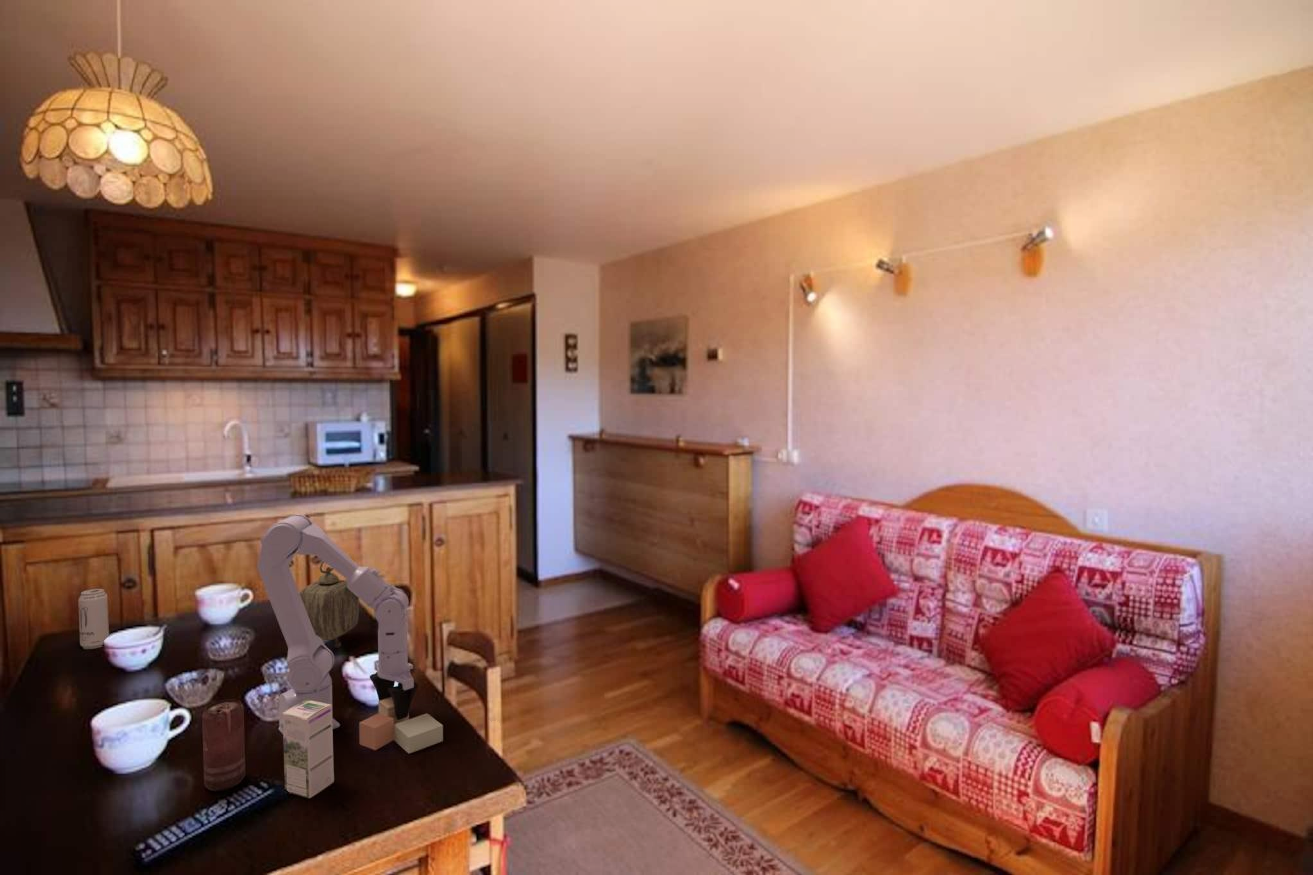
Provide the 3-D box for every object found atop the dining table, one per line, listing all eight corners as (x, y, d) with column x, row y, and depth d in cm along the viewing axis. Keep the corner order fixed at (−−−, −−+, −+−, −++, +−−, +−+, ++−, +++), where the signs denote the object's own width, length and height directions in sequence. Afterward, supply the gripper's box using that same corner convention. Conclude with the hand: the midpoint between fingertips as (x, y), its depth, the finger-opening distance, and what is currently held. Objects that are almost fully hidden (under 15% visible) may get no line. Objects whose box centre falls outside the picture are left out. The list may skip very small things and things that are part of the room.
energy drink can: (74, 648, 179) (72, 593, 178) (99, 640, 185) (97, 587, 184) (90, 651, 177) (88, 595, 176) (114, 643, 183) (112, 589, 182)
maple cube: (387, 729, 138) (387, 708, 138) (378, 721, 142) (378, 700, 141) (408, 721, 142) (408, 701, 141) (399, 714, 145) (399, 694, 144)
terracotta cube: (375, 750, 130) (374, 728, 130) (359, 744, 132) (359, 722, 132) (394, 740, 134) (393, 718, 134) (378, 734, 136) (378, 713, 136)
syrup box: (335, 781, 119) (334, 702, 118) (308, 800, 114) (306, 717, 113) (310, 775, 121) (309, 697, 120) (282, 793, 116) (281, 712, 115)
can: (215, 796, 114) (213, 717, 114) (197, 784, 118) (195, 707, 117) (252, 779, 120) (250, 703, 119) (234, 768, 123) (232, 694, 122)
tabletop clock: (332, 637, 190) (330, 550, 188) (361, 639, 189) (360, 551, 187) (298, 656, 176) (296, 562, 174) (329, 658, 174) (328, 564, 173)
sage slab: (408, 755, 129) (408, 737, 129) (393, 741, 134) (393, 724, 134) (442, 742, 134) (442, 725, 134) (427, 729, 139) (427, 713, 139)
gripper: (427, 653, 138) (428, 716, 139) (396, 635, 149) (397, 694, 149) (394, 662, 133) (395, 728, 134) (364, 643, 143) (365, 705, 144)
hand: (394, 711), depth 141 cm, fingers open, 7 cm apart
